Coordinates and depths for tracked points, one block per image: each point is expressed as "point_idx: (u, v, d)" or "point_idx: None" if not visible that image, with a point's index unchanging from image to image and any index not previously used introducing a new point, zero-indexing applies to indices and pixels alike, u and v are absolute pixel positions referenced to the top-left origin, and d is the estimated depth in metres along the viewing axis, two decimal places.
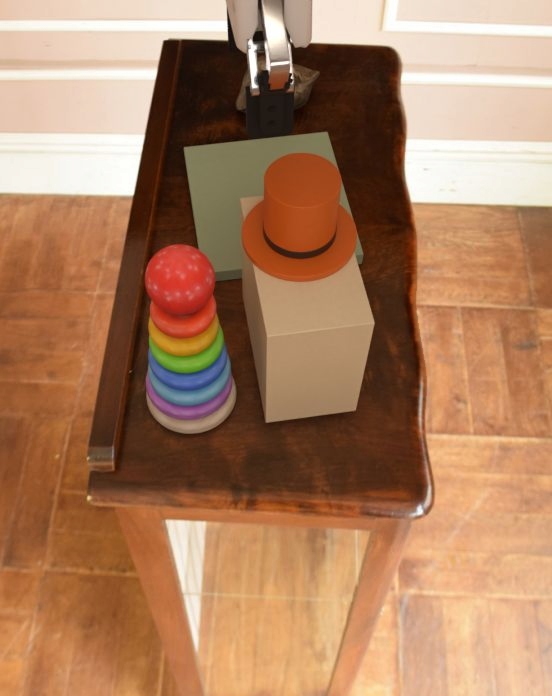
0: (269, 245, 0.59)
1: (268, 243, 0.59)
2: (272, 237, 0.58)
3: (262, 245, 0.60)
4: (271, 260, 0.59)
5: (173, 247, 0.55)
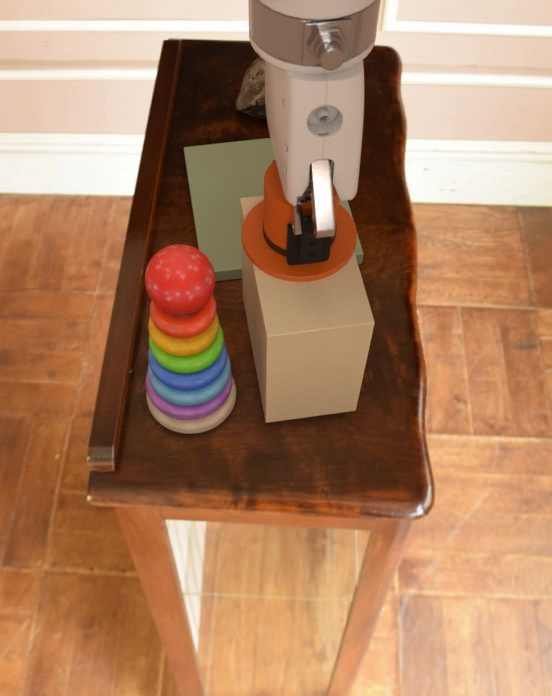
0: (269, 245, 0.59)
1: (268, 243, 0.59)
2: (272, 237, 0.58)
3: (262, 245, 0.60)
4: (271, 260, 0.59)
5: (173, 247, 0.55)
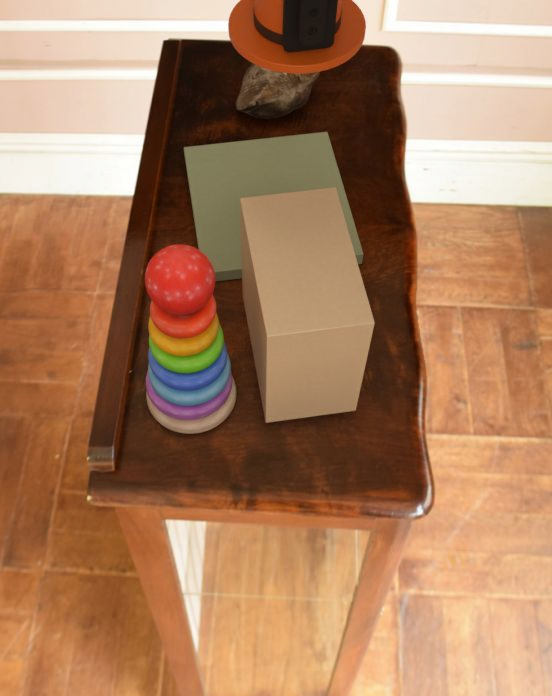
0: (261, 33, 0.50)
1: (260, 31, 0.50)
2: (265, 19, 0.49)
3: (253, 35, 0.50)
4: (264, 49, 0.49)
5: (173, 247, 0.55)
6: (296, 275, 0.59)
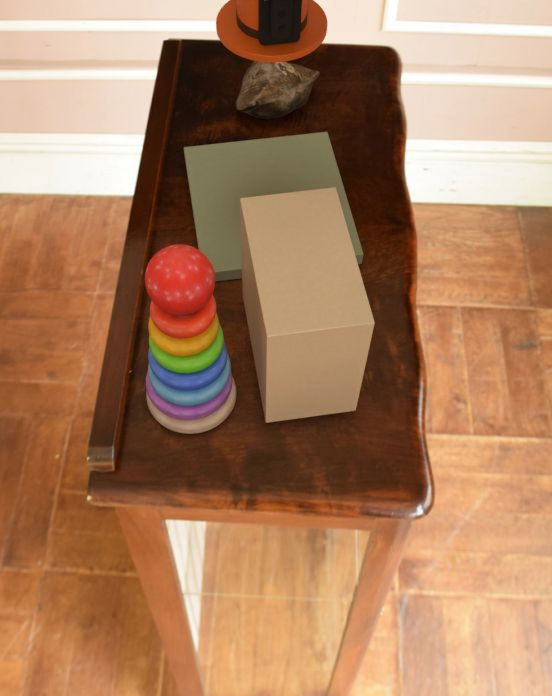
0: (242, 30, 0.61)
1: (241, 28, 0.61)
2: (244, 18, 0.60)
3: (235, 31, 0.62)
4: (244, 42, 0.61)
5: (173, 247, 0.55)
6: (296, 275, 0.59)
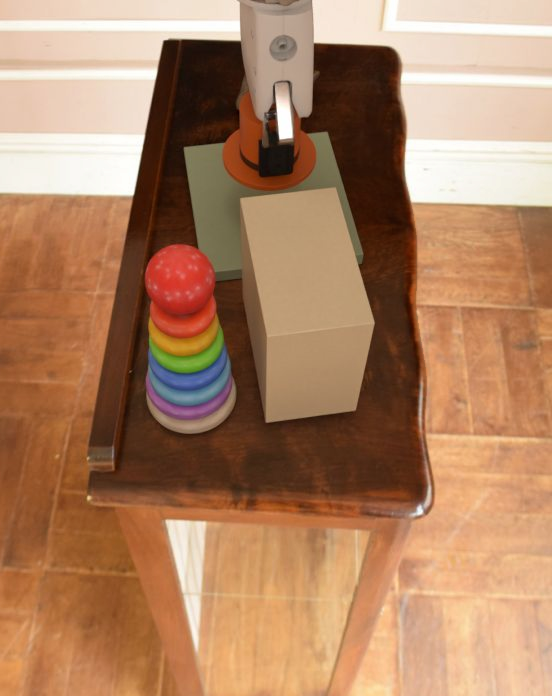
0: (244, 162, 0.73)
1: (243, 160, 0.73)
2: (246, 154, 0.72)
3: (239, 162, 0.73)
4: (246, 173, 0.73)
5: (173, 247, 0.55)
6: (296, 275, 0.59)
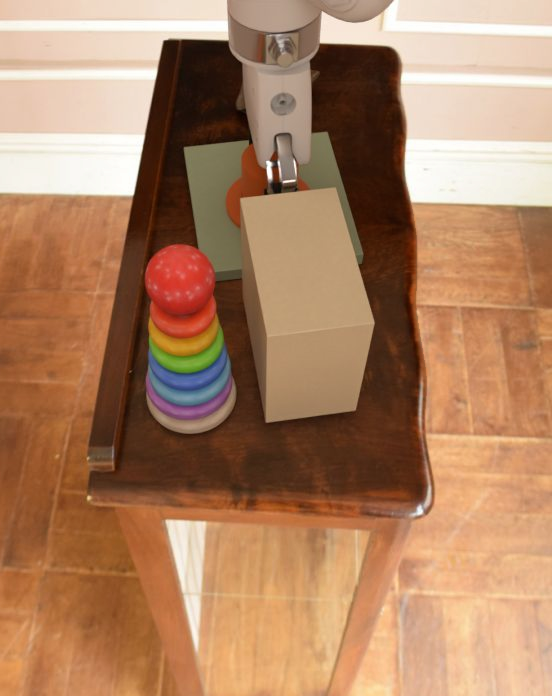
0: None
1: None
2: None
3: None
4: None
5: (173, 247, 0.55)
6: (296, 275, 0.59)
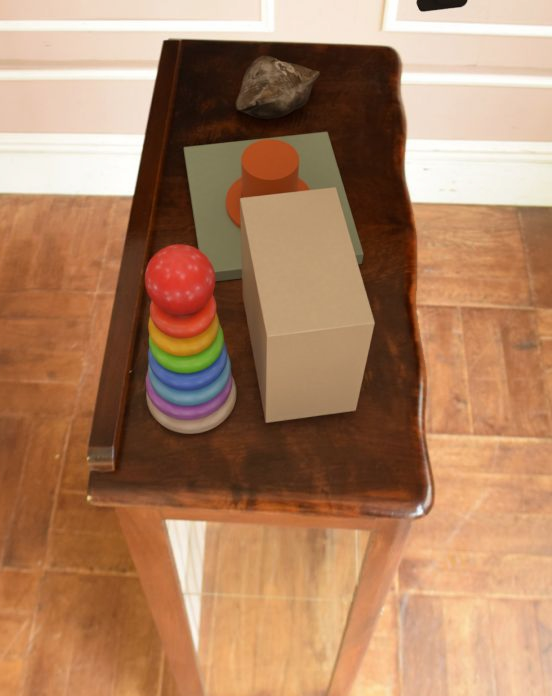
0: None
1: None
2: None
3: None
4: None
5: (173, 247, 0.55)
6: (296, 275, 0.59)
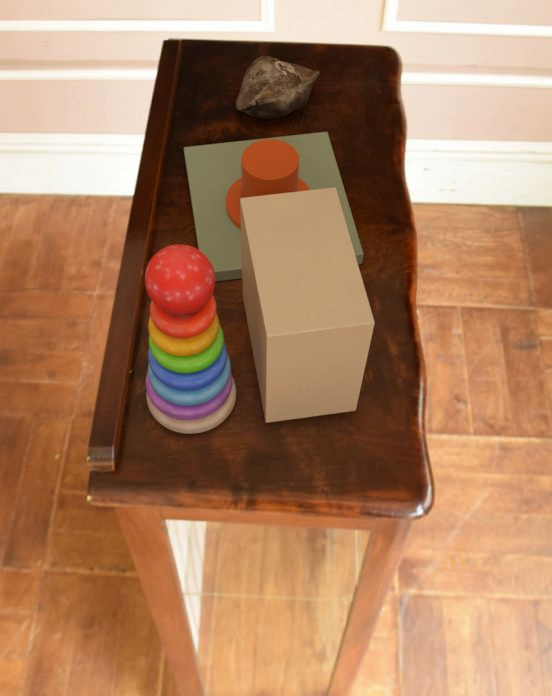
0: None
1: None
2: None
3: None
4: None
5: (173, 247, 0.55)
6: (296, 275, 0.59)
